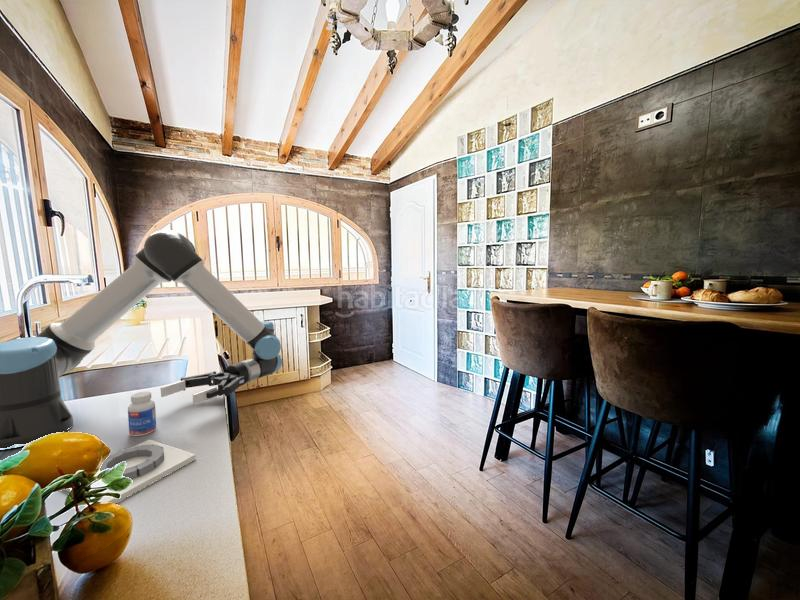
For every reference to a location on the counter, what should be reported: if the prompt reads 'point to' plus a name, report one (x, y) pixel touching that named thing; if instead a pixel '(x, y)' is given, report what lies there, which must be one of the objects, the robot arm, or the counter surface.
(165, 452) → the collar plate
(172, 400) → the counter surface
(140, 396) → the pill bottle
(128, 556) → the counter surface
